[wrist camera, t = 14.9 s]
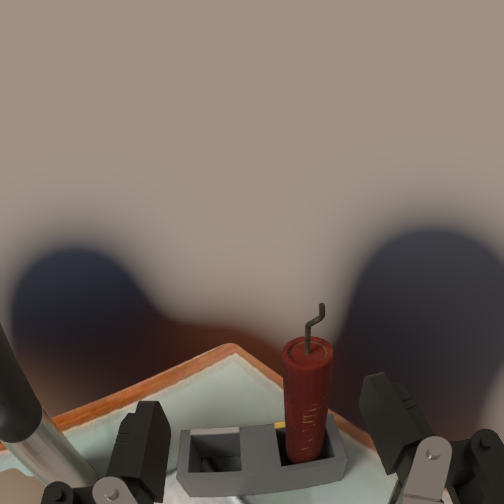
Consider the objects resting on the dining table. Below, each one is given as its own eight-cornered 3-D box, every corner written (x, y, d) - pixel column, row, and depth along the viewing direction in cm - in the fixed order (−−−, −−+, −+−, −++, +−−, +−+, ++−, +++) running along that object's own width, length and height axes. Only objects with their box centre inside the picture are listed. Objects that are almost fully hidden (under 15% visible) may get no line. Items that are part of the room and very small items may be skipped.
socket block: (189, 496, 32) (175, 477, 29) (192, 453, 40) (180, 429, 37) (341, 480, 32) (348, 458, 30) (328, 438, 40) (332, 412, 38)
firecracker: (289, 482, 33) (285, 321, 23) (283, 457, 38) (274, 291, 27) (322, 474, 34) (345, 310, 23) (314, 450, 38) (325, 283, 28)
